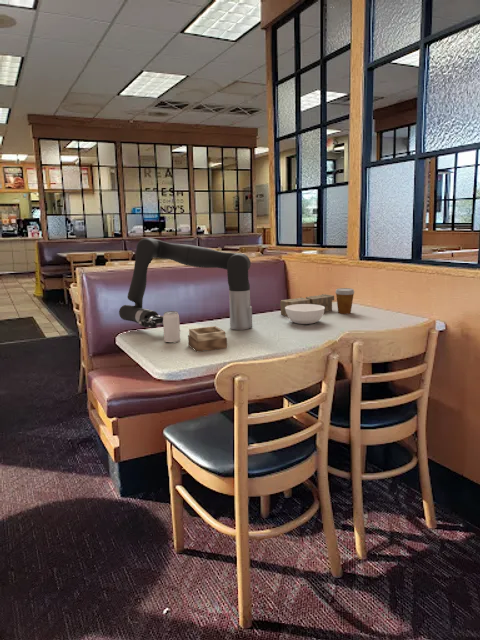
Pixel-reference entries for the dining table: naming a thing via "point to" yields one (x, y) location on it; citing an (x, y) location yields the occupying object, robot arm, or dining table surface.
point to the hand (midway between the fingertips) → (165, 323)
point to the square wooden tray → (207, 333)
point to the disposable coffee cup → (344, 300)
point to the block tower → (309, 302)
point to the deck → (207, 344)
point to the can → (171, 326)
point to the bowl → (304, 313)
